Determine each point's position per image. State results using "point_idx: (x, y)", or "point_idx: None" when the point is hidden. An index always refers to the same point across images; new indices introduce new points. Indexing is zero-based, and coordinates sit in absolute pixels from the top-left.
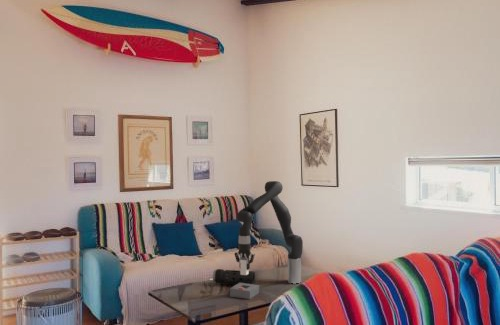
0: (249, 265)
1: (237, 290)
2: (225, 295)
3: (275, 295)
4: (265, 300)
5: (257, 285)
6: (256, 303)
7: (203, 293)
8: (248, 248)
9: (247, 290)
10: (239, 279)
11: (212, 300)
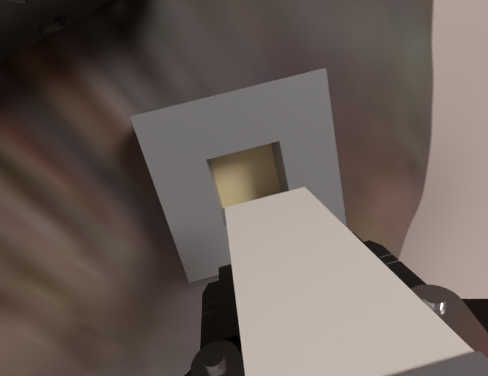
0: (411, 280)
1: None
2: (159, 257)
3: (431, 46)
4: (414, 174)
5: (319, 86)
6: (392, 243)
7: (23, 315)
8: None
9: None
10: (45, 32)
11: (169, 351)
